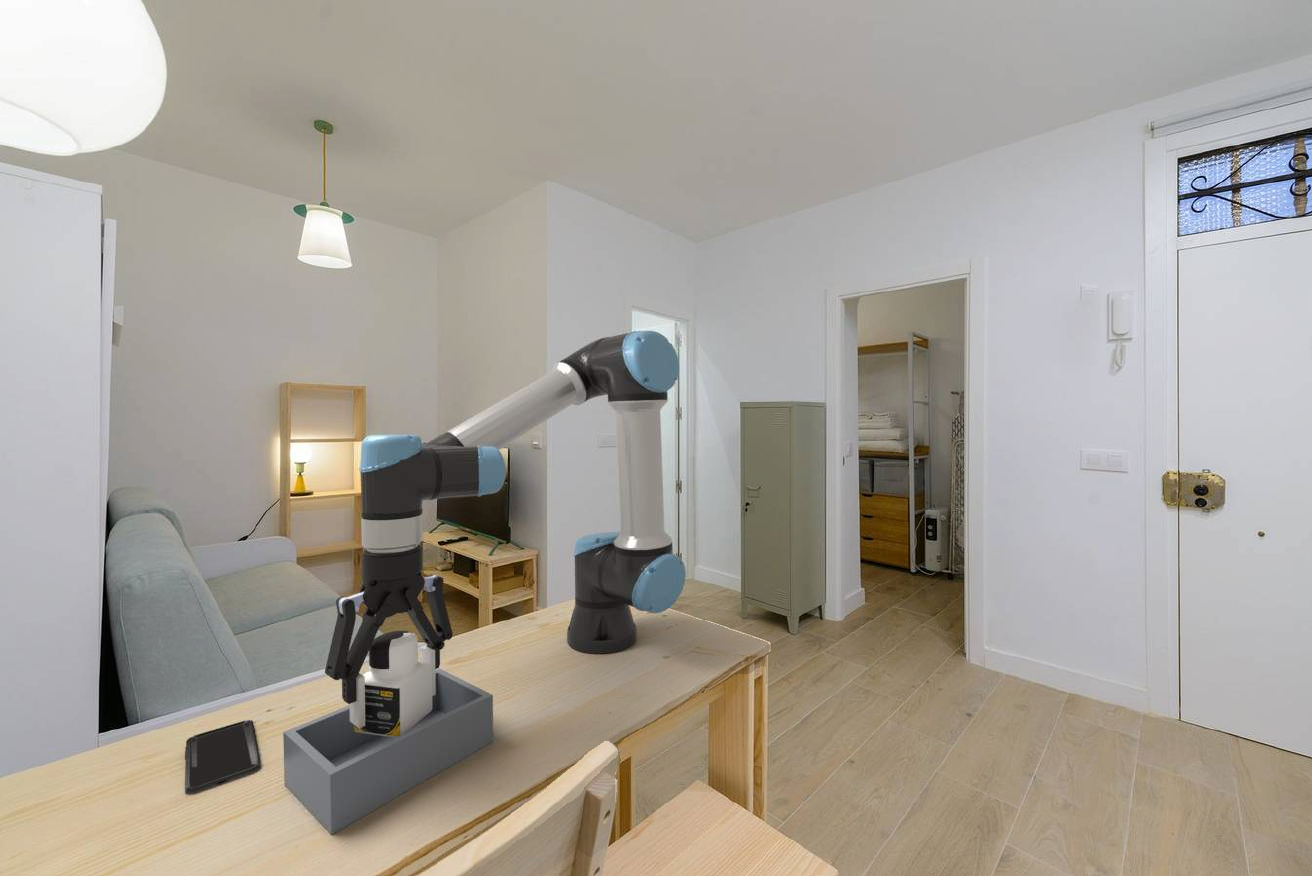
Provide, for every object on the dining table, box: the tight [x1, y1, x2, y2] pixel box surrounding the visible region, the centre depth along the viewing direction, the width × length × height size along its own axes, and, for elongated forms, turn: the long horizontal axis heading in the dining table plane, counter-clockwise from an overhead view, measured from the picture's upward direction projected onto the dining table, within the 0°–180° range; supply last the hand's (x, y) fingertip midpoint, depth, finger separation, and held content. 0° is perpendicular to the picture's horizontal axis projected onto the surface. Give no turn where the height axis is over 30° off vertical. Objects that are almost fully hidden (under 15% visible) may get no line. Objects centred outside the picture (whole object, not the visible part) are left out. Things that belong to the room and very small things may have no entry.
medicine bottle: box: [354, 630, 432, 738], centre depth 73 cm, size 7×7×12 cm
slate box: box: [282, 668, 494, 836], centre depth 73 cm, size 22×14×7 cm, turn 143°
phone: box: [184, 719, 262, 796], centre depth 74 cm, size 8×1×15 cm
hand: (394, 707), depth 73 cm, fingers closed on medicine bottle, 9 cm apart
